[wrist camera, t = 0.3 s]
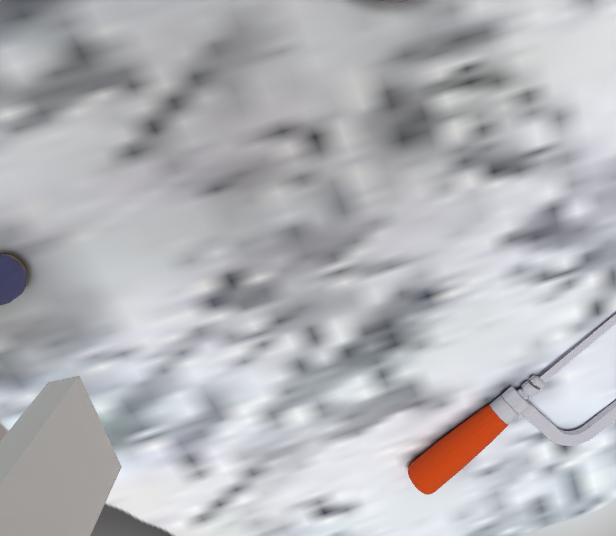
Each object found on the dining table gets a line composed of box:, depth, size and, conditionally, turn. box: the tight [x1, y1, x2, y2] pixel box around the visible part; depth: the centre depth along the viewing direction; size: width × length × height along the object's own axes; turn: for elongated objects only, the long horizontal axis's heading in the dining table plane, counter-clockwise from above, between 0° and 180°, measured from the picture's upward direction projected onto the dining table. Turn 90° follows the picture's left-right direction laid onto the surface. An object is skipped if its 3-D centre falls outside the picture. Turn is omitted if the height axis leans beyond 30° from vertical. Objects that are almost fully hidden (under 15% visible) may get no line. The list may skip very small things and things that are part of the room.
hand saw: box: [408, 314, 616, 494], centre depth 45 cm, size 33×3×10 cm
